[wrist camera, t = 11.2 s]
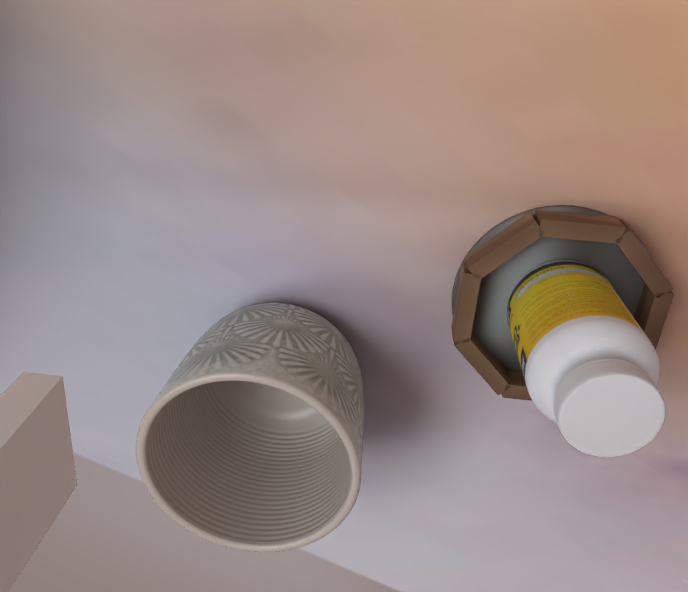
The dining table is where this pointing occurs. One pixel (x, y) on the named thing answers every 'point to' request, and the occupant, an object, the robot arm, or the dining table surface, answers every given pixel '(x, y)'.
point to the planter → (258, 431)
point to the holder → (532, 251)
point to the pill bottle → (585, 359)
